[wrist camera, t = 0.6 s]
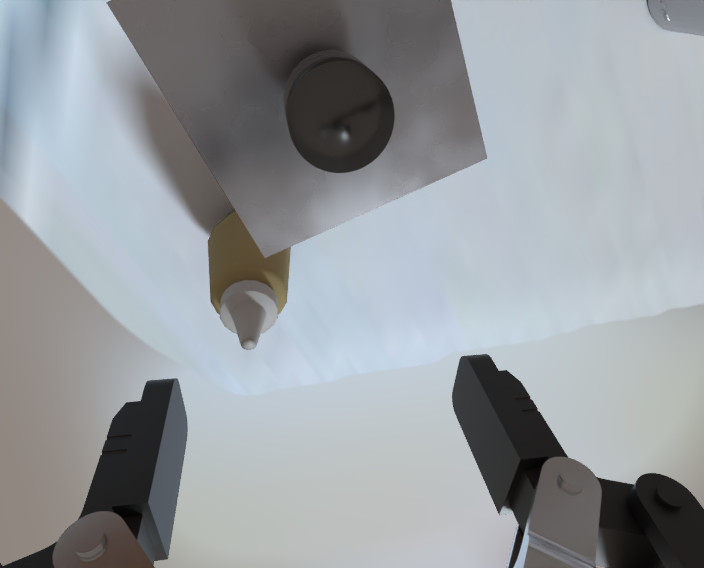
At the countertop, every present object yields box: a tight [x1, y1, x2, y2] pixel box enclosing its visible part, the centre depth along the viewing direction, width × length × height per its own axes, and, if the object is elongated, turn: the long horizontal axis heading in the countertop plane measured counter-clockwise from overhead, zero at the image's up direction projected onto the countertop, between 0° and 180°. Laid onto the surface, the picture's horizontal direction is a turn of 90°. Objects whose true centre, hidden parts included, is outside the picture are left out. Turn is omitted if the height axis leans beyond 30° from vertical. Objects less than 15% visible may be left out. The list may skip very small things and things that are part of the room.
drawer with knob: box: [107, 0, 487, 258], centre depth 22 cm, size 10×10×20 cm
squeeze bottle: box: [208, 211, 291, 350], centre depth 42 cm, size 8×8×18 cm
